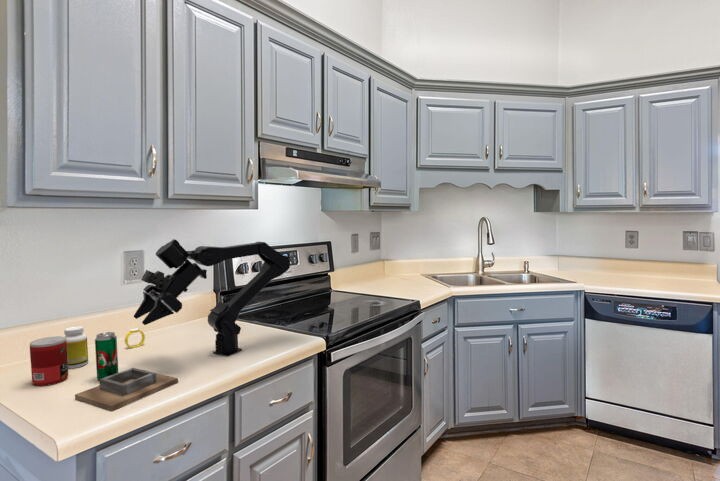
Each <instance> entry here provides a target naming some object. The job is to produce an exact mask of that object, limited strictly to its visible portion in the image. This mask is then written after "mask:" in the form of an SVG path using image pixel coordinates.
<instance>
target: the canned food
mask: <svg viewBox="0 0 720 481" xmlns="http://www.w3.org/2000/svg"><path fill="white" fill-rule="evenodd" d="M29 358H30V359H29V360H30V371H31V383H32V384H33V385H34V386H36V387H45V386H46V387H47V386H53V385H57V384H60V383H62V382H64V381H66V380H68V377H69V368H68V358H67V342H66V337H65V336H61V335H60V336H47V337H42V338H38V339H34V340H32V341H30V343H29Z"/></svg>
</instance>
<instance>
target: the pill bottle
mask: <svg viewBox="0 0 720 481" xmlns="http://www.w3.org/2000/svg"><path fill="white" fill-rule="evenodd" d="M84 331H85V330H84V327H83V326H80V325H79V326H78V325H77V326H71V327H67V328H64V332H63V333H64V337H66V342H67V358H68V369H76V368H80V367H85V366H86V365H87V364H88V363H89V351H88V350H89V348H88V336H87V335H86V334H85V333H84Z"/></svg>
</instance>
